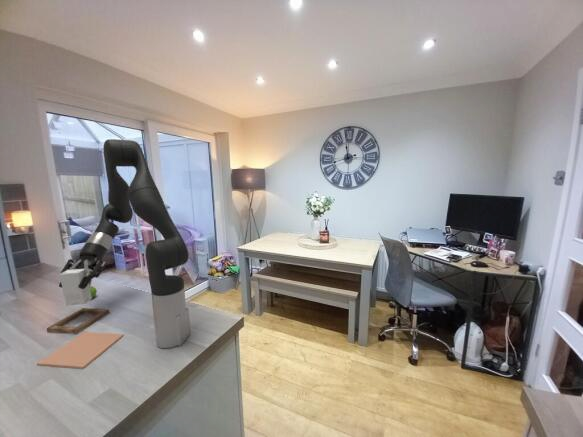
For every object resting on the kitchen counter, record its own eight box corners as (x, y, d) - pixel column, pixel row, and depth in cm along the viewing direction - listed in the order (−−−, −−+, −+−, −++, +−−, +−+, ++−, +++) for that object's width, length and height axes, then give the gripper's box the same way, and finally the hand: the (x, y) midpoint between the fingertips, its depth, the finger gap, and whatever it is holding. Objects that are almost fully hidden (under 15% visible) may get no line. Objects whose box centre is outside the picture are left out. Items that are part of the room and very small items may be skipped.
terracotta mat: (123, 336, 78) (123, 334, 78) (83, 368, 64) (83, 366, 64) (85, 333, 79) (84, 331, 79) (37, 365, 66) (37, 363, 66)
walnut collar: (109, 312, 92) (109, 309, 92) (76, 334, 79) (76, 329, 79) (83, 311, 93) (83, 308, 93) (47, 332, 80) (46, 328, 80)
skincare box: (92, 298, 88) (87, 267, 86) (84, 304, 83) (79, 272, 82) (73, 300, 87) (68, 269, 85) (64, 306, 82) (58, 273, 80)
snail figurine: (76, 303, 99) (72, 276, 97) (85, 296, 105) (81, 270, 103) (92, 301, 101) (88, 275, 99) (99, 294, 107) (96, 269, 105)
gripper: (72, 241, 90) (43, 283, 80) (107, 241, 88) (81, 284, 79) (87, 250, 96) (61, 290, 86) (120, 251, 95) (98, 292, 85)
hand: (71, 287), depth 82 cm, fingers closed on skincare box, 6 cm apart
